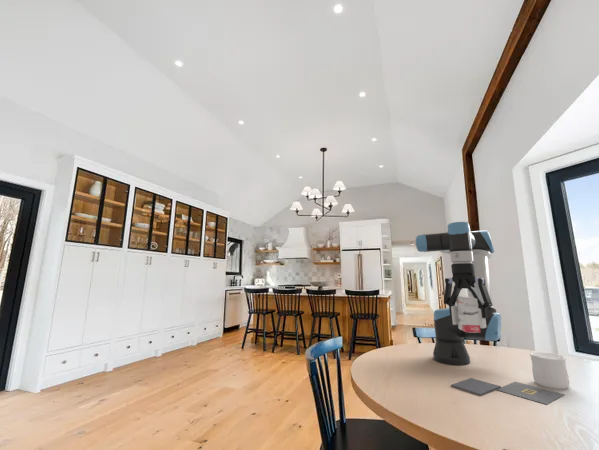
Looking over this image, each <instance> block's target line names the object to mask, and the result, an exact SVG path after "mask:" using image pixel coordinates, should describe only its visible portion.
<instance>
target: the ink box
mask: <svg viewBox="0 0 599 450" xmlns="http://www.w3.org/2000/svg"><path fill="white" fill-rule="evenodd" d="M455 304H456V306H457V315H458V328H459V329H460V330H462V331H464V332H468V333H481V332H480V322H479V313H478V302H477V299H476V298H472V297H470V296H463V295H461V296H460V295H458V297H457V299H456V303H455Z"/></svg>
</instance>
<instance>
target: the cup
mask: <svg viewBox="0 0 599 450" xmlns="http://www.w3.org/2000/svg"><path fill="white" fill-rule="evenodd" d="M529 356H530V359H531V363H532V364H531V368H532V369H531V370H532V377H533V378H532V379H533V380H534V382H535V383H536V384H537V385H538V386H542V387H545V388H549V389H556V390H566V389H568V388H569V387H570V380H569V377H570V376H569V374H568V369H567V363H566V362H567V361H566V357H565V356H563V355H561V354H557V353H550V352H531V353H529Z"/></svg>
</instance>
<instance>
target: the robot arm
mask: <svg viewBox="0 0 599 450" xmlns="http://www.w3.org/2000/svg"><path fill="white" fill-rule="evenodd" d="M415 247H416V250H417V251H418V252H421V253H426V252H428V253H429V252H440V253H443V254H449V255H450V262H451V263H452V264H451V267H450V268H451V273H452V277H449V278H448V277H446V278H445V279H444V284H445V289H444V293H443V294H444V296H443V304H444V305H448V308H447V307H446V308H439V309H435V310H434V311H433V321H434V322H433V324H434V334H435V345H434V349H433V353H432V355H433V356H432V357H433V360H434V361H436V362H439V363H442V364H448V365H457V366H458V365H459V366H460V365H469V364H470V363H471V358H470V355H469V352H468V350H467V348H466V345H465V343H464V342H465V341H464V339H470V340H471V339H472V340H481V341H485V342H486V341H487V342H488V341H491V342H493V341H494V342H495V341H498V340H500V337H501V332H502V316H501V314H500V313H499V312H497V309H496V308H495V307H494V305H493V303H492V294H491V291H492V290H491V280H490V279H491V278H490V268H489V259H490V258H492V254H493V253H495V249H494V245H493V241H492V238H491V234H490V232H489V230H486V229H485V230H474V231H473V230H472V231H471V228H470V224H469V222H467V221H455V222H454V221H453V222H450V223H448V225H447V231H446V232H440V233H427V234H418V235H416V237H415ZM453 283H454V286H453ZM463 289H464V290H465V289H467V290H468V292H469V293H468V294H469V296H468V297H472V298H476V299H477V302H478V313H479V322H480V332H481V333H468V332H464V331H462V330H460V329H459V328H458V315H457V305H456V304H457V303H456V299H457V297H458V296H460V293H461V291H462V290H463Z"/></svg>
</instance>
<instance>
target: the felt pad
mask: <svg viewBox="0 0 599 450" xmlns="http://www.w3.org/2000/svg"><path fill="white" fill-rule="evenodd" d="M450 386H451V388H454V389H458V390H460V391H464V392H467V393H470V394H473V395H477V396H479V397H482V396H485V395H487V394H490V393H492V392H495V391H497V390H496V389H498V388H500V387H502V386H501V385H498V384H495V383H492V382H486V381H484V380H480V379H477V378H473V377H470V378H467V379H463V380H460V381H458V382H454V383H452V384H450Z"/></svg>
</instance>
